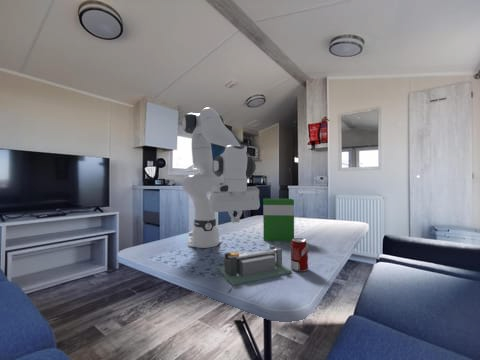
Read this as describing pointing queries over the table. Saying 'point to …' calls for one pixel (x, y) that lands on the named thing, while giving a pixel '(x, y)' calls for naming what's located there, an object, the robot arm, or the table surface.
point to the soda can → (299, 254)
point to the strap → (252, 253)
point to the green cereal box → (278, 219)
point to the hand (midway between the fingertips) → (235, 222)
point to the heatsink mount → (253, 267)
